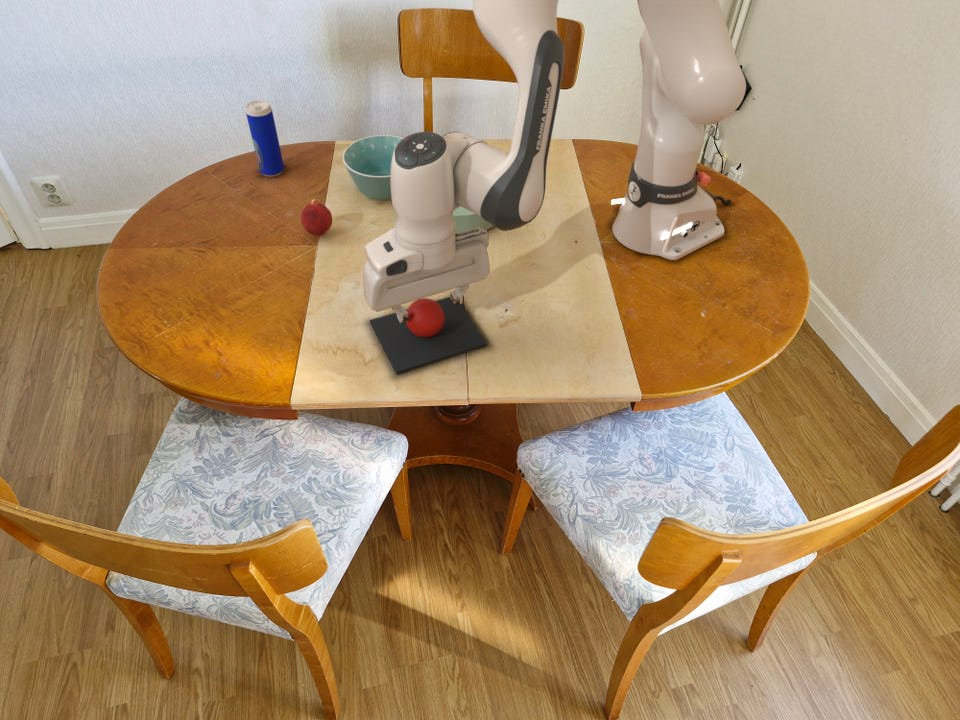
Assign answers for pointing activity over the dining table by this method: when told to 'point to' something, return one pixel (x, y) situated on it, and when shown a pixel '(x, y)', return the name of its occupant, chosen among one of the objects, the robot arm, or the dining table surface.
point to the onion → (316, 218)
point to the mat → (427, 339)
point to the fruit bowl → (468, 220)
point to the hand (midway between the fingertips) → (430, 310)
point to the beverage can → (265, 138)
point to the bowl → (371, 164)
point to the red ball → (425, 317)
